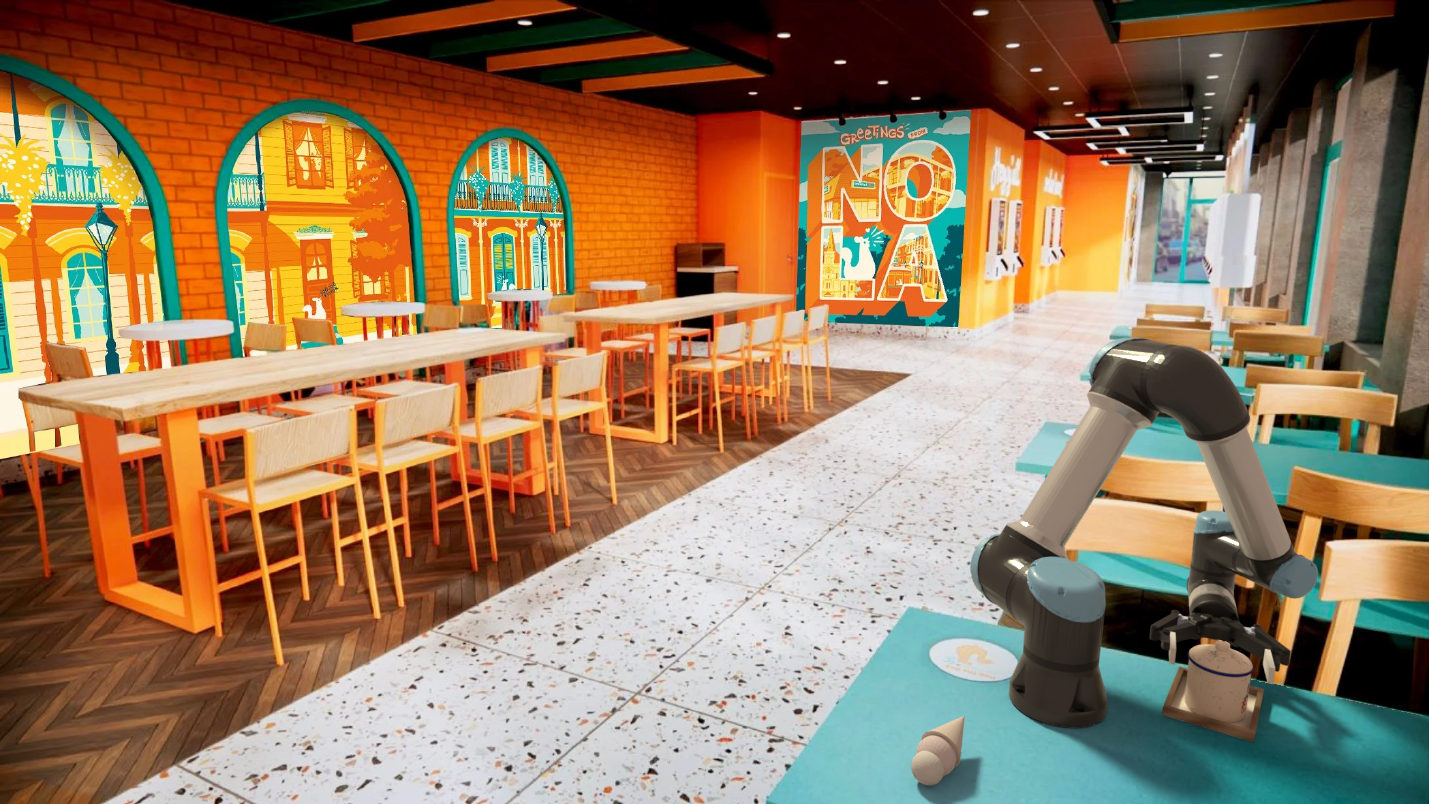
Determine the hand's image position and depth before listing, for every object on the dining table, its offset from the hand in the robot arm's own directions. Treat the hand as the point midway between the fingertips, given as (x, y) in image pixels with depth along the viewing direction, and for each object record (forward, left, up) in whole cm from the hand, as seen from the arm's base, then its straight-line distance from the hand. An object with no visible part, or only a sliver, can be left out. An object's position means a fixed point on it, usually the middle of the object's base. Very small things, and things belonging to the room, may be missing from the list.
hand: (1221, 666), depth 134 cm
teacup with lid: (-1, +2, -8) cm, 9 cm away
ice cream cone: (-31, -38, -9) cm, 50 cm away
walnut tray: (-1, +3, -9) cm, 9 cm away
